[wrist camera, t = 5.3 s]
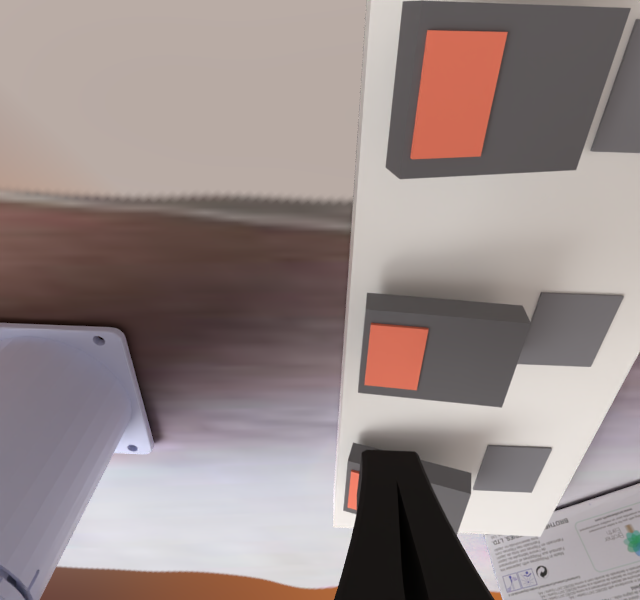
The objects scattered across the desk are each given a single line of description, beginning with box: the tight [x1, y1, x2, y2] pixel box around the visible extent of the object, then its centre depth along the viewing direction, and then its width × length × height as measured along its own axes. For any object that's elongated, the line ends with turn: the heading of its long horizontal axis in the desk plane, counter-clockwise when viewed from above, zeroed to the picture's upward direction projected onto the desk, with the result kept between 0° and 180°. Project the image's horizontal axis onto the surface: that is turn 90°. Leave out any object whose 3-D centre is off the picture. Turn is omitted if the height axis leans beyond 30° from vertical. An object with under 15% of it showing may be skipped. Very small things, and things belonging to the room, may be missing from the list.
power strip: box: [333, 0, 640, 537], centre depth 16 cm, size 11×32×2 cm, turn 178°
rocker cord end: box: [386, 1, 631, 179], centre depth 11 cm, size 5×4×1 cm
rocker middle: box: [358, 293, 531, 408], centre depth 15 cm, size 5×4×1 cm
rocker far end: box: [343, 442, 471, 535], centre depth 19 cm, size 5×4×1 cm
